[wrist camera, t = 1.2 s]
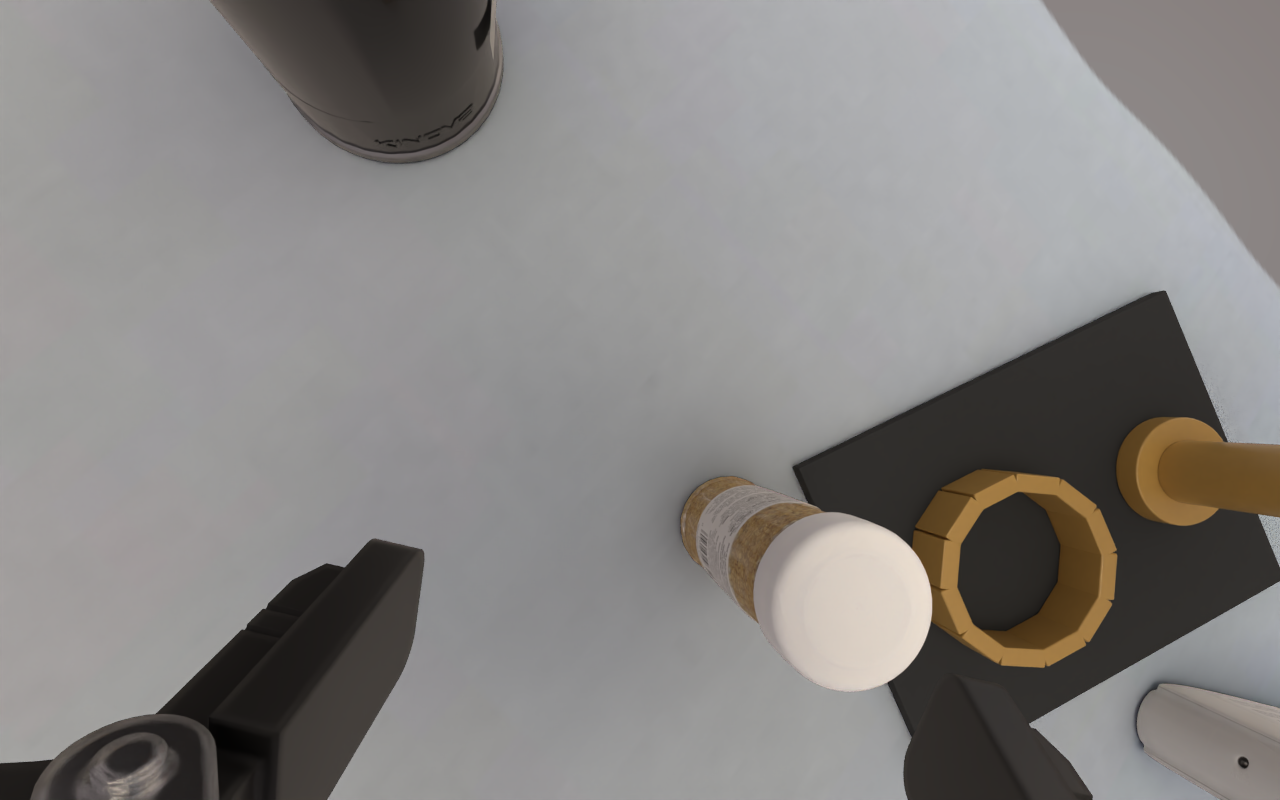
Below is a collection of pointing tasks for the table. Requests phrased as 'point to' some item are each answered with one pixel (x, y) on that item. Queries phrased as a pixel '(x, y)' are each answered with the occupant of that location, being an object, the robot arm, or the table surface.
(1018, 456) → the drip mat
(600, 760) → the table surface
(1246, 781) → the photo printer
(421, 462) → the table surface
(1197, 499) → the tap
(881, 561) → the sprinkles bottle
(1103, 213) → the table surface
